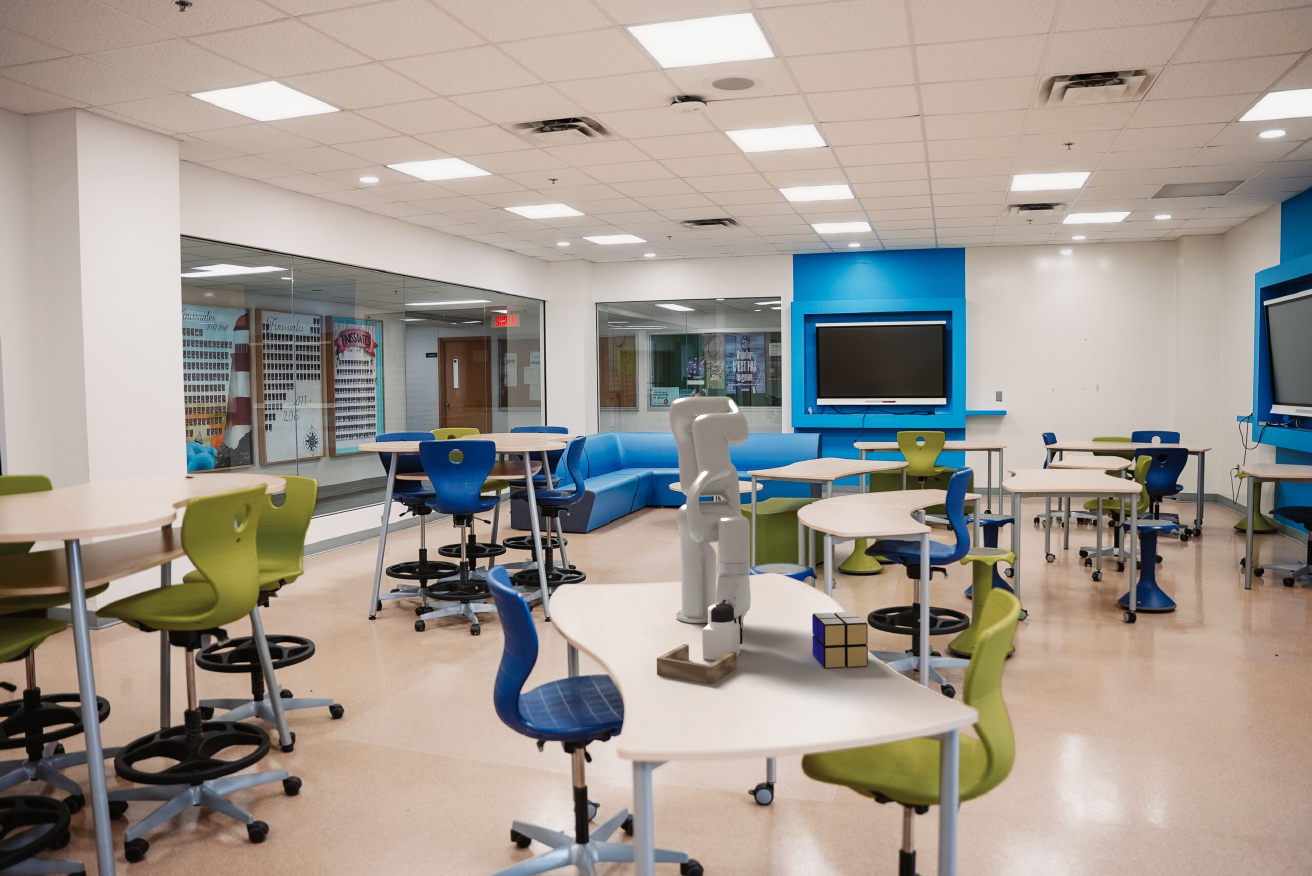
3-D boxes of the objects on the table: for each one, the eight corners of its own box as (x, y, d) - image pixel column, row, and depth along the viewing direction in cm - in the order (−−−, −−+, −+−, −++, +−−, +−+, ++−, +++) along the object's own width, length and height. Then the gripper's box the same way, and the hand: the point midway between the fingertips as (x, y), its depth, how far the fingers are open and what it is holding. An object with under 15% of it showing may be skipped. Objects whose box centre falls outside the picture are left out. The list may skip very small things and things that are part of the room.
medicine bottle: (740, 652, 205) (739, 602, 204) (732, 662, 198) (731, 610, 197) (711, 650, 207) (710, 600, 206) (702, 659, 200) (701, 608, 200)
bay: (684, 658, 201) (684, 643, 201) (736, 667, 194) (736, 652, 194) (656, 673, 191) (656, 658, 190) (711, 683, 184) (710, 667, 183)
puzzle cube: (812, 655, 202) (811, 613, 202) (854, 653, 203) (854, 611, 203) (824, 669, 192) (823, 624, 192) (868, 667, 193) (868, 622, 193)
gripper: (733, 561, 216) (734, 634, 217) (705, 572, 203) (706, 650, 204) (761, 563, 212) (762, 638, 213) (734, 575, 199) (735, 654, 200)
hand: (735, 643), depth 208 cm, fingers closed
